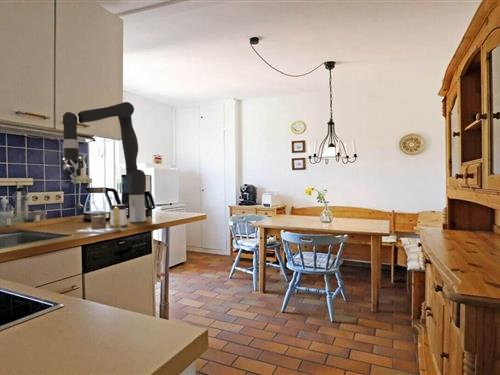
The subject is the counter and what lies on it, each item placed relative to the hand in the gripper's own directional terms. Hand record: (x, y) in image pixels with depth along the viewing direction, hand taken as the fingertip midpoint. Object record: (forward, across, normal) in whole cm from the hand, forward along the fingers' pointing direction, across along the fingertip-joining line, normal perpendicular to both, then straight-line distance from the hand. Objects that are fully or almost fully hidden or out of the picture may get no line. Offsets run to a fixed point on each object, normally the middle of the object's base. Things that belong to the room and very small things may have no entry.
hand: (72, 176), depth 182 cm
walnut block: (+30, -19, +2) cm, 35 cm away
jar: (+30, -20, -13) cm, 38 cm away
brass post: (+30, -31, +2) cm, 43 cm away
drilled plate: (+30, -25, +11) cm, 40 cm away
